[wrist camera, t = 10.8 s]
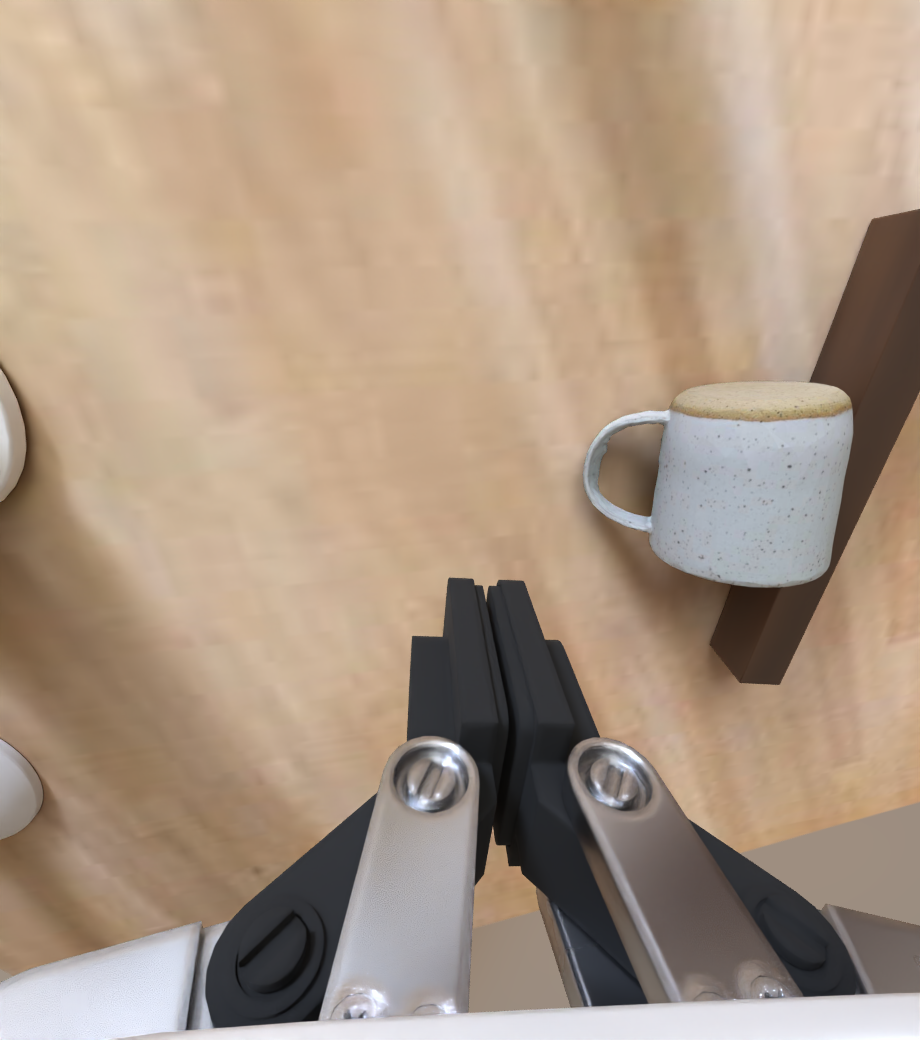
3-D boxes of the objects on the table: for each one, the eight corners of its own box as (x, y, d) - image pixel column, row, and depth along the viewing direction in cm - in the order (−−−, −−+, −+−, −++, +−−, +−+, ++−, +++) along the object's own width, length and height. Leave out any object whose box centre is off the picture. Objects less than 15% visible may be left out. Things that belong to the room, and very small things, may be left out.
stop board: (709, 644, 31) (739, 683, 28) (871, 218, 21) (946, 202, 18) (745, 646, 31) (780, 685, 28) (923, 224, 21) (1007, 210, 18)
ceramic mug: (787, 368, 24) (927, 393, 17) (761, 516, 27) (869, 588, 20) (577, 390, 24) (628, 423, 17) (577, 533, 27) (620, 610, 20)
